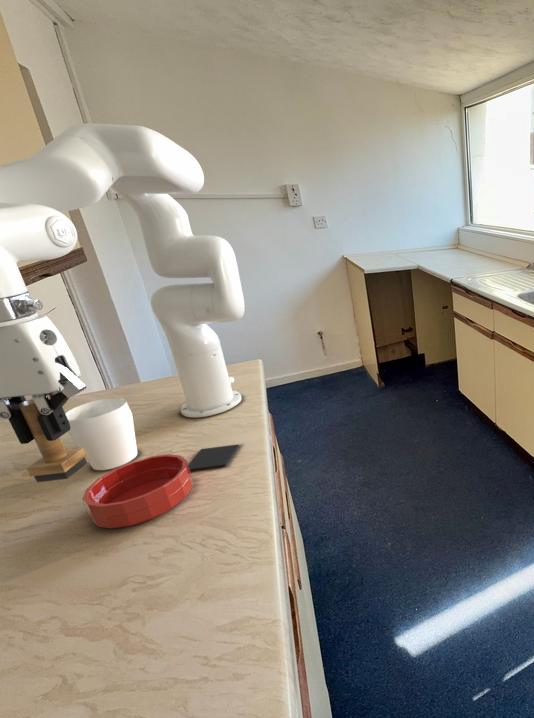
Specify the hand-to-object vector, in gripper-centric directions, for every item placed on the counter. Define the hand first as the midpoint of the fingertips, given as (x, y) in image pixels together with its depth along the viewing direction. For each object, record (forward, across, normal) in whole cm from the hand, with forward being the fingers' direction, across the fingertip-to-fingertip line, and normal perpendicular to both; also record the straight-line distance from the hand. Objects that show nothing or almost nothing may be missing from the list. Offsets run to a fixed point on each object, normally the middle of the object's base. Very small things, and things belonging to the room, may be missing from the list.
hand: (46, 435), depth 55 cm
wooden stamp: (+6, 0, 0) cm, 6 cm away
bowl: (+19, -3, -8) cm, 21 cm away
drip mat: (+19, -9, -19) cm, 28 cm away
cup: (+20, +10, -23) cm, 32 cm away
